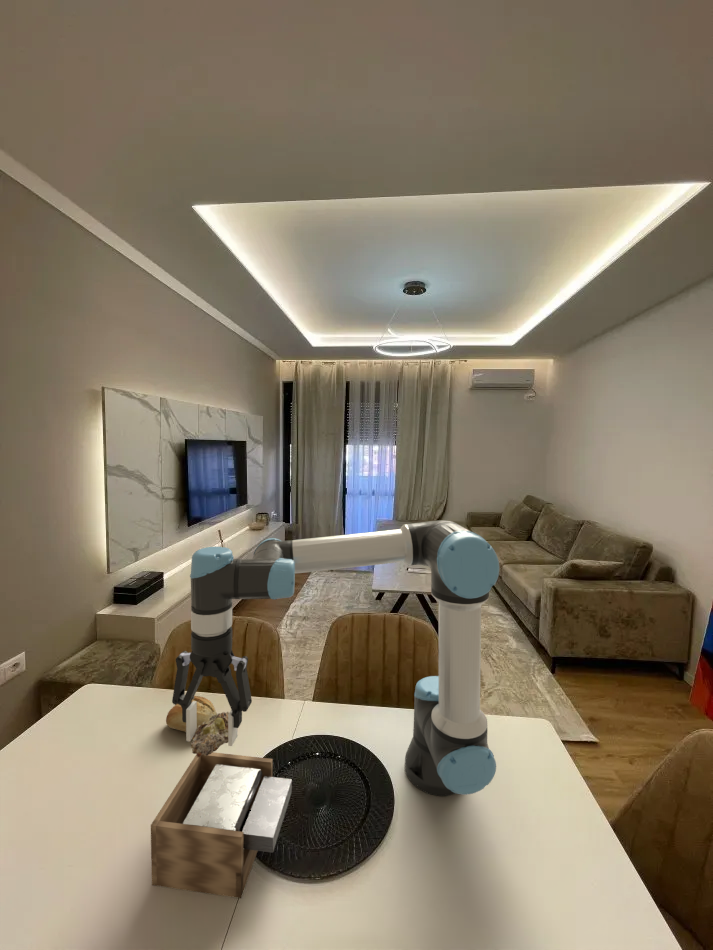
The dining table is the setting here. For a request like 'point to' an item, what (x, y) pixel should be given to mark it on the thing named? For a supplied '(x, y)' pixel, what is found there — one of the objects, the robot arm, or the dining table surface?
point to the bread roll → (203, 714)
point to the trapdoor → (243, 805)
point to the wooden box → (201, 836)
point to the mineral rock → (210, 735)
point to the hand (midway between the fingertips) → (212, 738)
